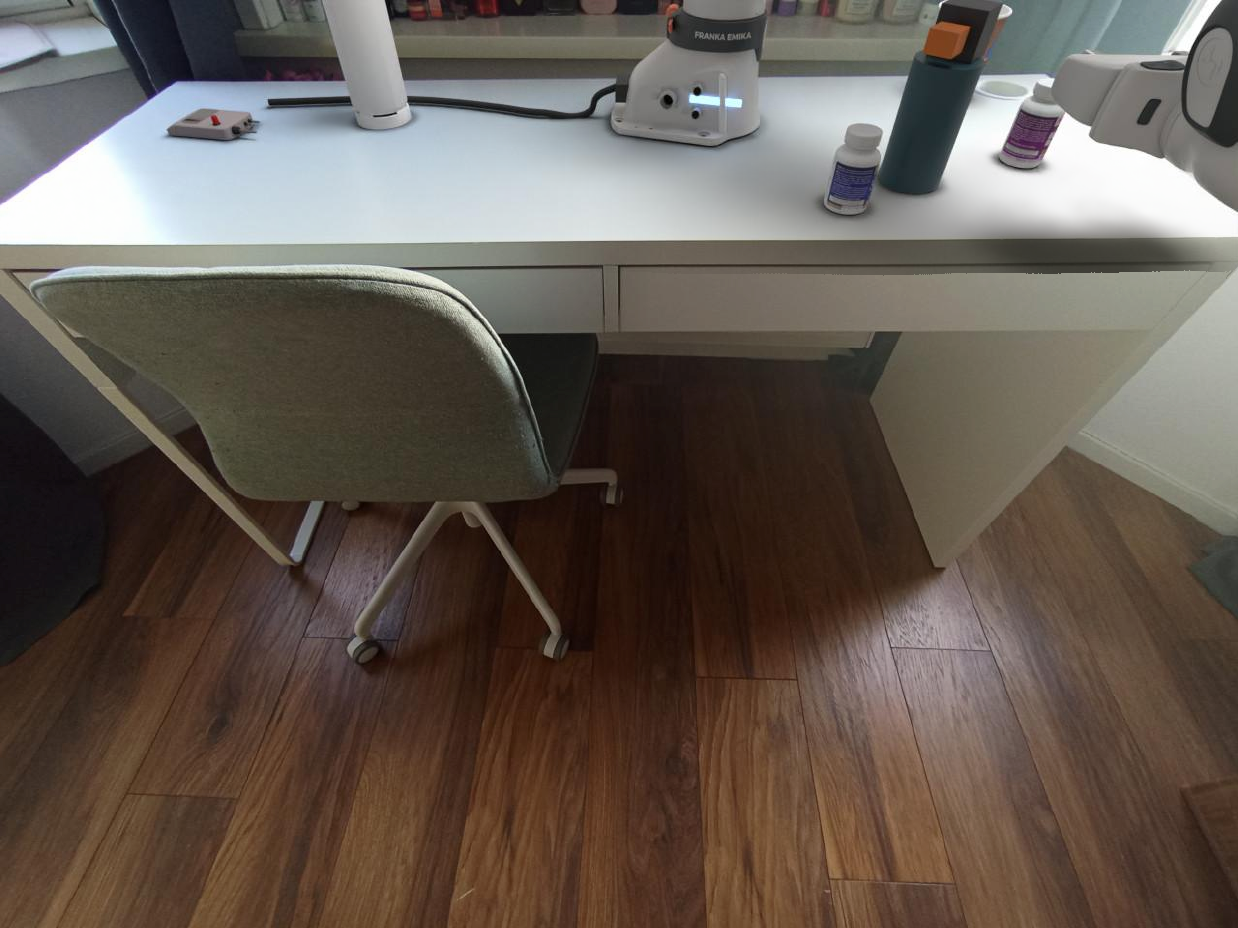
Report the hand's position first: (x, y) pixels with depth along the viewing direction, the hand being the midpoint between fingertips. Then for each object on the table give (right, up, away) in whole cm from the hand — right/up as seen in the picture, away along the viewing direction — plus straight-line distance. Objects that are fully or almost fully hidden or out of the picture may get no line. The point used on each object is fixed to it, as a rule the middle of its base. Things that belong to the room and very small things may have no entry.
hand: (1130, 59), depth 67 cm
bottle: (-90, +10, +30) cm, 96 cm away
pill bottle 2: (+1, -2, +20) cm, 20 cm away
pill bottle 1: (-26, -11, +11) cm, 31 cm away
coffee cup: (-1, +17, +36) cm, 40 cm away
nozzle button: (-19, +2, +3) cm, 19 cm away
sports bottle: (-16, -6, +16) cm, 23 cm away
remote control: (-114, +7, +28) cm, 117 cm away
